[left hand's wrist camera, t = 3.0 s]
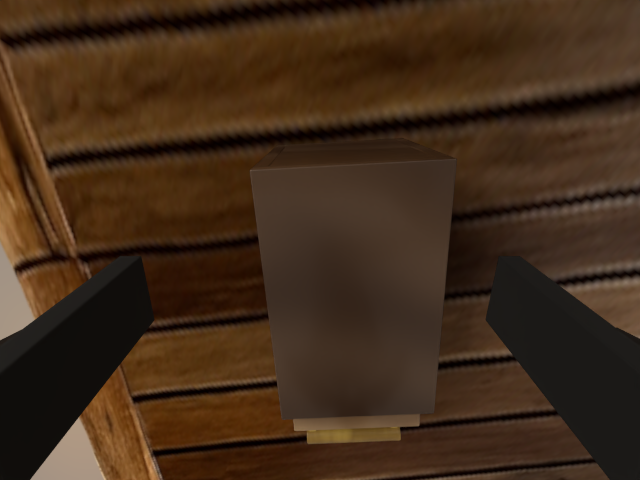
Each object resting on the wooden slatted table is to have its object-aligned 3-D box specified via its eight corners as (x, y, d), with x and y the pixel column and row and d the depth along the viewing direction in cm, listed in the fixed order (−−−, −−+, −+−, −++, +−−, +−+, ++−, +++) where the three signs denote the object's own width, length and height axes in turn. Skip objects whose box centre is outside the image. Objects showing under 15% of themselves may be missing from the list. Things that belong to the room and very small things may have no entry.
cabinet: (397, 315, 33) (434, 413, 23) (293, 320, 33) (281, 419, 23) (403, 138, 27) (457, 158, 16) (276, 145, 27) (249, 169, 17)
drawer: (391, 386, 35) (415, 482, 26) (305, 390, 35) (300, 486, 26) (397, 182, 27) (434, 218, 19) (287, 188, 28) (271, 227, 19)
